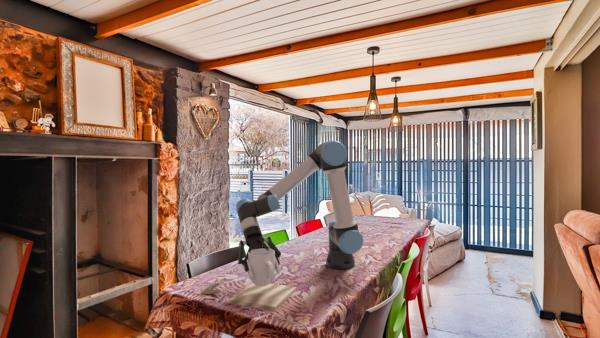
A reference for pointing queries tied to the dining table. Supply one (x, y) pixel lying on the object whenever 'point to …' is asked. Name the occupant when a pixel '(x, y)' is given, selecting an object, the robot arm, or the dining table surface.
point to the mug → (262, 266)
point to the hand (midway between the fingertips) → (265, 275)
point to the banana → (211, 287)
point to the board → (263, 296)
